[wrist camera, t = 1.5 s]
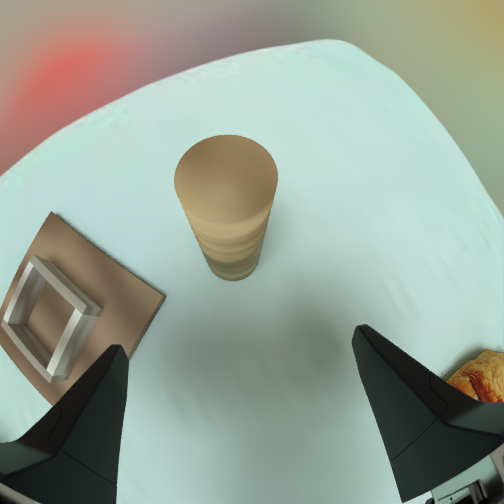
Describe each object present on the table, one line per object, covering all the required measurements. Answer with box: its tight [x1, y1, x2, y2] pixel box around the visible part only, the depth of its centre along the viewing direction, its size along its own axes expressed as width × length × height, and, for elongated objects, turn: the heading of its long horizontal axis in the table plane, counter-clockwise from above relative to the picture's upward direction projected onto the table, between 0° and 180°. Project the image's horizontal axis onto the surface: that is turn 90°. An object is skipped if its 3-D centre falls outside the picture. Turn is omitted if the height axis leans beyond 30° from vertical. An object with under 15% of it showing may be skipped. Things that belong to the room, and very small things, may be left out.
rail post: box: [174, 135, 278, 281], centre depth 18 cm, size 4×4×13 cm
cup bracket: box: [0, 211, 166, 406], centre depth 20 cm, size 16×16×4 cm
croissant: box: [446, 350, 504, 403], centre depth 18 cm, size 21×10×8 cm
